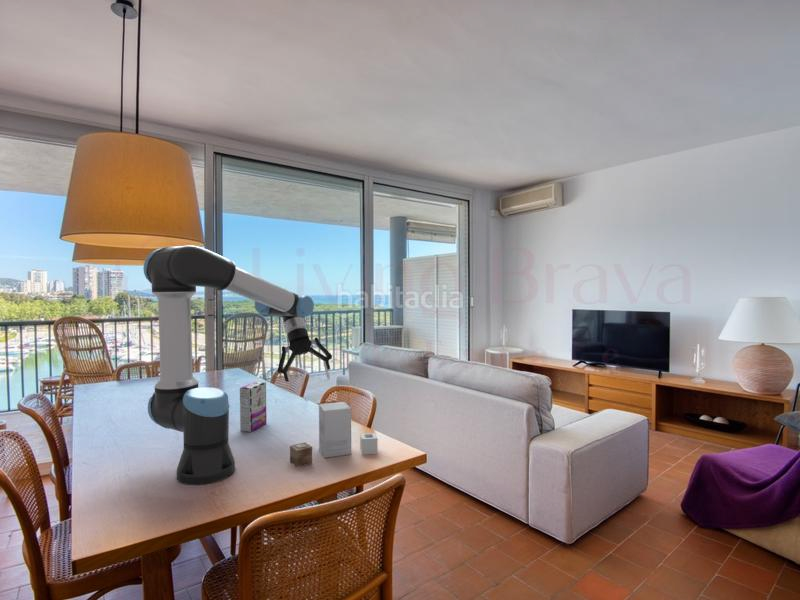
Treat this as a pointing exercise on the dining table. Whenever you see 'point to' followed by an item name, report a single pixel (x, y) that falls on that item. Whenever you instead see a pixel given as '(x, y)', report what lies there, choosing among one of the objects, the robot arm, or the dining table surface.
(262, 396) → the candy bar box
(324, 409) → the supplement box
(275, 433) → the dining table surface
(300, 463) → the walnut block
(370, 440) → the pale grey block
